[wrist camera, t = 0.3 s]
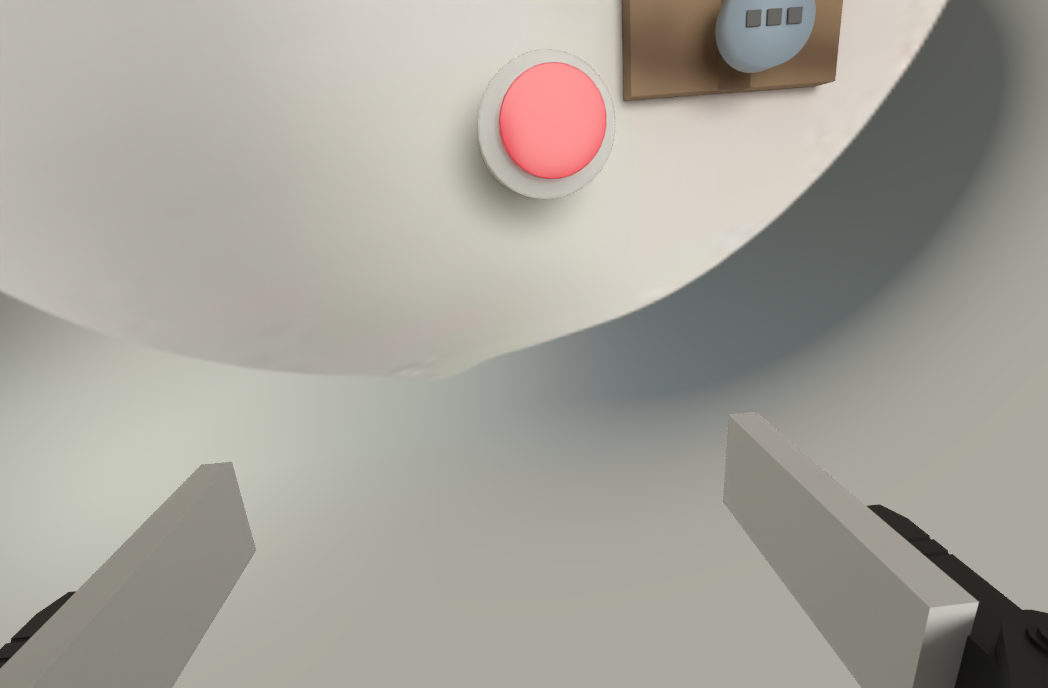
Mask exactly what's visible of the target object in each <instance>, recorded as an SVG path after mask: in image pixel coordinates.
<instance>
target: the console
mask: <svg viewBox="0 0 1048 688" xmlns="http://www.w3.org/2000/svg"><path fill="white" fill-rule="evenodd" d="M724 1H725V0H622V38H623V97H624V101H626V100H639V99H652V98H665V97H678V96H692V95H705V94H718V93H731V92H744V91H758V90H771V89H784V88H797V87H810V86H819V85H822V84H826V83H829V82H833V81H835V76H836V65H837V55H838V45H839V34H840V24H841V14H842V4H843V0H815V5H816V15H815V22H814V26H813V29H812V32H811V34H810V36H809V38H808V40H807V42H806V43H805V45H804V46H803V48H802V49H801V50H800V51H799V52H798V53H797V54H796V55H795V56H794V57H792V58H791V59H790V60H788V61H786V62H784V63H782V64H779V65H777V66H774V67H772V68H769V69H767V70H764V71H761V72H757V73H745V72H741V71H738V70H736V69H734V68H732V67H731V66H730V65H729V64H728V63H726V61H725V60H724V59H723V58H719V49H718V47H717V43H716V37H715V28H716V21H717V16H718V13H719V10H720V8H721V6H722V4H723V2H724Z"/></svg>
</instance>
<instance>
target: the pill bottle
mask: <svg viewBox="0 0 1048 688" xmlns="http://www.w3.org/2000/svg"><path fill="white" fill-rule="evenodd" d="M477 126H478V138H479V148H480V151H481V155H482V159H483V161H484V163H485V165H486V167H487V169H488V170H489V172H490V173H491V174H492V176H493V177H494V178H495V179H496V180H497V181H498V182H499V183H500V184H502V185H503V186H505V187H506V188H508V189H510V190H511V191H514V192H516V193H519V194H522V195H525V196H527V197H530V198H537V199H557V198H561V197H564V196H568V195H571V194H573V193H575V192H576V191H578V190H580V189H582V188H583V187H585V186H586V185H587V184H588V183H590V182H591V181H592V180H593V179H594V178H595V177H596V175H597V174H598V173H599V172H600V171H601V169H602V168H603V166H604V164H605V163H606V161H607V159H608V157H609V154H610V151H611V149H612V146H613V142H614V136H615V112H614V107H613V101H612V99H611V96H610V94H609V91H608V89H607V87H606V85H605V84H604V82H603V80H602V79H601V77H600V76H599V75H598V74H597V72H596V71H595V70H594V69H593V68H592V67H591V66H590V65H589V64H587V63H586V62H584V61H583V60H581V59H580V58H578V57H576V56H574V55H572V54H569V53H567V52H564V51H558V50H552V49H547V50H535V51H531V52H528V53H524V54H522V55H520V56H518V57H516V58H514V59H512V60H511V61H509V62H508V63H507V64H506V65H504V66H503V67H502V68H501V69H500V70H499V71H498V72H497V73H496V75H495V76H494V77H493V78H492V80H491V81H490V82H489V84H488V86H487V88H486V90H485V92H484V94H483V97H482V101H481V104H480V107H479V113H478V123H477Z"/></svg>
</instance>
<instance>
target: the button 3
mask: <svg viewBox="0 0 1048 688" xmlns="http://www.w3.org/2000/svg"><path fill="white" fill-rule="evenodd" d="M815 15H816V5H815V0H725V1H724V2H723V4H722V6H721V8H720V10H719V13H718V16H717V21H716V28H715V37H716V43H717V47H718V49H719V52H720V54H721V56H722V57H723V59H724V60H725V61H726V63H728V64H729V65H730V66H731V67H732V68H734V69H736V70H738V71H741V72H745V73H757V72H761V71H764V70H767V69H769V68H772V67H774V66H777V65H779V64H782V63H784V62H786V61H788V60H790V59H791V58H792V57H794V56H795V55H796V54H797V53H798V52H799V51H800V50H801V49H802V48H803V46H804V45H805V43H806V42H807V40H808V38H809V36H810V34H811V32H812V29H813V26H814V22H815Z"/></svg>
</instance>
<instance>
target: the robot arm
mask: <svg viewBox="0 0 1048 688" xmlns="http://www.w3.org/2000/svg"><path fill="white" fill-rule="evenodd" d="M723 502H724V504H725V505H726V506H727V508H728V509H729V510H730V512H731V513H732V514H733V516H734V517H735V518H736V520H737V521H738V522H739V524H740V525H741V526H742V527H743V529H744V530H745V532H746V533H747V534H748V536H749V537H750V538H751V540H752V541H753V542H754V544H755V545H756V546H757V548H758V549H759V551H760V552H761V553H762V555H763V556H764V557H765V559H766V560H767V561H768V563H769V564H770V565H771V567H772V568H773V569H774V571H775V572H776V573H777V575H778V576H779V577H780V579H781V580H782V581H783V583H784V584H785V585H786V587H787V588H788V589H789V591H790V592H791V594H792V595H793V596H794V597H795V599H796V600H797V602H798V603H799V604H800V606H801V607H802V608H803V610H804V611H805V612H806V613H807V615H808V616H809V618H810V619H811V620H812V622H813V623H814V624H815V626H816V627H817V628H818V630H819V631H820V632H821V634H822V635H823V636H824V638H825V639H826V640H827V642H828V643H829V645H830V646H831V647H832V649H833V650H834V651H835V652H836V654H837V655H838V657H839V658H840V659H841V661H842V662H843V663H844V665H845V666H846V667H847V669H848V670H849V671H850V673H851V674H852V675H853V677H854V678H855V679H856V681H857V682H858V683H859V685H860V686H861V687H862V688H1048V613H1044V612H1039V611H1034V610H1021V609H1020V608H1019V607H1018V606H1016V605H1015V604H1014V603H1013V602H1012V601H1010V600H1009V599H1008V598H1007V597H1005V596H1004V595H1003V594H1002V593H1000V592H999V591H998V590H997V589H995V588H994V587H993V586H991V585H990V584H989V583H988V582H986V581H985V580H984V579H983V578H981V577H980V576H979V575H978V574H976V573H975V572H974V571H973V570H971V569H970V568H969V567H968V566H966V565H965V564H964V563H963V562H961V561H960V560H959V559H957V558H956V557H955V556H954V555H953V554H951V555H949V553H948V550H946V549H945V548H944V547H943V546H941V545H940V544H939V543H938V542H936V541H935V540H934V539H933V540H931V539H930V537H929V535H928V534H926V533H925V532H924V531H923V530H921V529H920V528H919V527H918V526H916V525H915V524H914V523H913V522H911V521H910V520H909V519H907V518H906V517H904V516H902V515H899V514H897V513H896V512H894V511H892V510H890V509H888V508H886V507H884V506H882V505H871V506H866V505H864V504H863V503H862V502H861V501H860V500H859V499H857V498H856V497H855V496H854V495H853V494H852V493H850V492H849V491H848V490H847V489H846V488H844V487H843V486H842V485H841V484H840V483H839V482H837V481H836V480H835V479H834V478H833V477H832V476H830V475H829V474H828V473H827V472H826V471H825V470H823V469H822V468H821V467H820V466H819V465H817V464H816V463H815V462H814V461H813V460H812V459H810V458H809V457H808V456H807V455H806V454H805V453H803V452H802V451H801V450H800V449H799V448H798V447H796V446H795V445H794V444H793V443H792V442H790V441H789V440H788V439H787V438H786V437H785V436H784V435H782V434H781V433H780V432H779V431H778V430H776V429H775V428H774V427H773V426H772V425H771V424H769V423H768V422H767V421H766V420H765V419H764V418H762V417H761V416H760V415H759V414H758V413H757V412H753V413H742V414H732V415H729V416H728V434H727V449H726V465H725V482H724V497H723ZM255 551H256V549H255V545H254V541H253V538H252V534H251V530H250V527H249V523H248V520H247V516H246V512H245V509H244V505H243V501H242V497H241V494H240V490H239V486H238V483H237V479H236V475H235V472H234V468H233V464H232V462H226V463H215V464H205V465H201V466H200V467H199V468H198V469H197V470H196V471H195V472H194V473H193V474H192V475H191V476H190V477H189V478H188V479H187V480H186V481H185V482H184V483H183V484H182V485H181V486H180V487H179V488H178V489H177V490H176V491H175V492H174V493H173V494H172V495H171V496H170V497H169V498H168V499H167V500H166V501H165V502H164V503H163V504H162V505H161V506H160V507H159V508H158V509H157V510H156V511H155V512H154V513H153V515H151V516H150V517H149V519H147V521H145V522H144V523H143V525H142V526H141V527H140V528H139V529H138V530H137V531H136V532H135V533H134V534H133V535H132V536H131V537H130V538H129V539H128V540H127V541H126V542H125V543H124V544H123V545H122V546H121V547H120V548H119V549H118V550H117V551H116V552H115V553H114V554H113V555H112V556H111V557H110V558H109V559H108V560H107V561H106V562H105V563H104V564H103V565H102V566H101V567H100V568H99V569H98V570H97V571H96V572H95V573H94V574H93V575H92V576H91V577H90V578H89V579H88V580H87V581H86V582H85V583H84V584H83V585H82V586H81V587H80V588H79V589H78V591H76V592H68V593H67V594H65V595H64V596H62V597H61V598H59V599H58V600H56V601H55V602H53V603H52V604H51V605H49V606H48V607H46V608H45V609H43V610H42V611H40V612H39V613H37V614H36V615H35V616H34V617H33V618H32V619H31V620H30V621H29V622H28V623H27V624H26V625H25V626H24V627H23V628H22V629H21V630H20V631H19V632H18V633H16V634H15V635H14V636H13V638H11V642H10V643H8V644H5V645H4V646H3V647H2V648H1V649H0V688H172V687H173V685H174V684H175V682H176V680H177V679H178V677H179V675H180V674H181V672H182V671H183V669H184V667H185V666H186V664H187V662H188V661H189V659H190V657H191V656H192V654H193V653H194V651H195V649H196V648H197V646H198V644H199V643H200V641H201V639H202V638H203V636H204V635H205V633H206V631H207V630H208V628H209V626H210V624H211V623H212V622H213V620H214V618H215V617H216V615H217V613H218V612H219V610H220V608H221V607H222V605H223V603H224V602H225V600H226V599H227V597H228V595H229V594H230V592H231V590H232V589H233V587H234V585H235V584H236V582H237V581H238V579H239V577H240V576H241V574H242V572H243V571H244V569H245V568H246V566H247V564H248V563H249V561H250V559H251V558H252V556H253V554H254V553H255Z"/></svg>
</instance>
